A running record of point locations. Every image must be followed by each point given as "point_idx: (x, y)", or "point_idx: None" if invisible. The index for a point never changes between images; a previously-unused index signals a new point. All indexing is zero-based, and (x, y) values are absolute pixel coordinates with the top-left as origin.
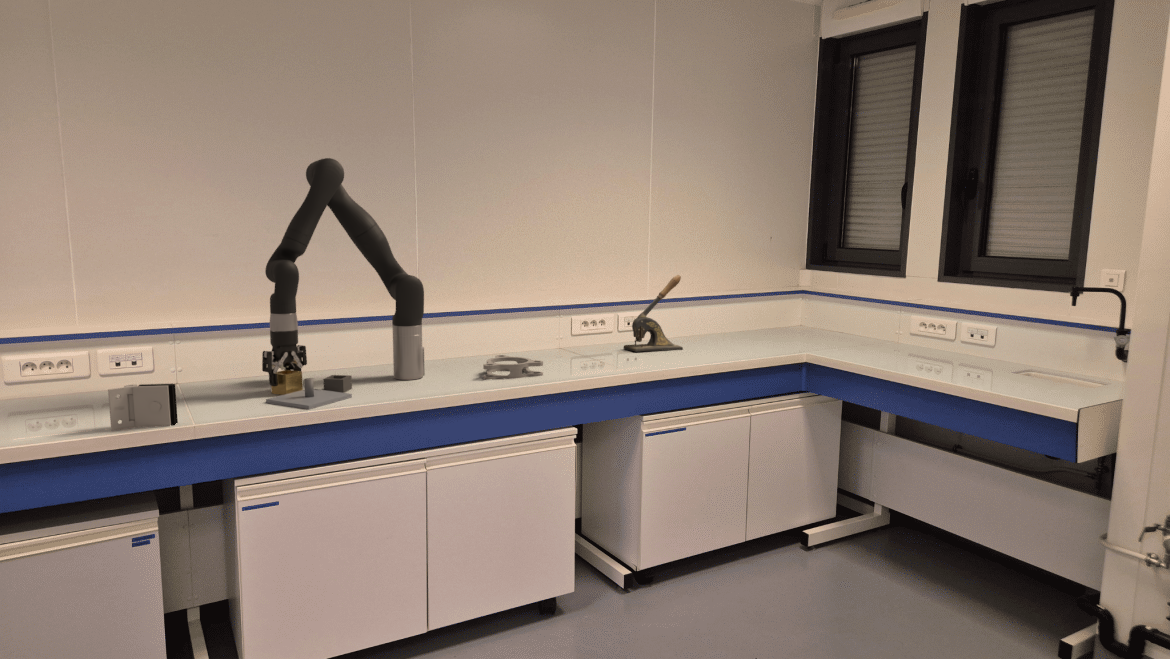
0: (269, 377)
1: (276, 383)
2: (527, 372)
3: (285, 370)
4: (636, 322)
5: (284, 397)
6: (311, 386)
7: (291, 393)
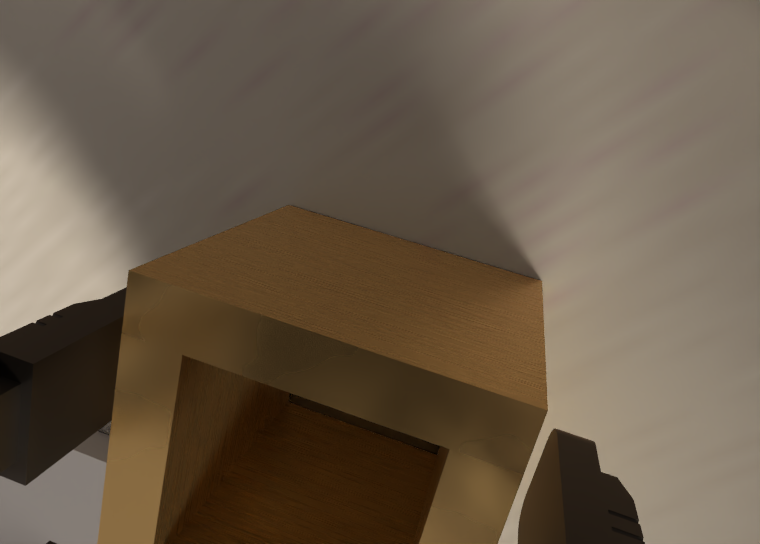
0: (10, 340)
1: None
2: None
3: (445, 422)
4: None
5: (39, 520)
6: None
7: None
